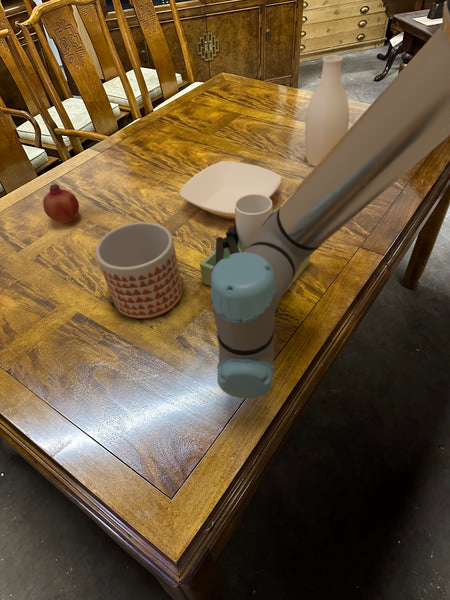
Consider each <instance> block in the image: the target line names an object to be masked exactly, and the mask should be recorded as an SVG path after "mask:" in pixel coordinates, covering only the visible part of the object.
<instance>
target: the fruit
mask: <svg viewBox="0 0 450 600" xmlns="http://www.w3.org/2000/svg"><path fill="white" fill-rule="evenodd" d="M42 203H43V204H42V207H43V211H44V213H45V214H46V216H47V217H49V218H50V219H51V221H55V222H57V223H63V224H65V223H70V222H72V221H73V220H74V219H75V218H76V217H77V215H78V214H79V210H80V204H79V200H78V198H77V197H76V195H75V194H74V193H72V192H71V191H70V190H67V189H63V188H61V187H60V186H59V185H58V184H56V183H54V184H51V185H50V186H49V192H47V193H46V194H45V196H44V197H43V200H42Z"/></svg>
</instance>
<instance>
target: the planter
mask: <svg viewBox="0 0 450 600" xmlns="http://www.w3.org/2000/svg"><path fill="white" fill-rule="evenodd" d="M95 257H96V260H97V262H98V265H99V267H100V270H101V272H102V276H103V278H104V280H105V284H106V286H107V288H108V290H109V294H110V295H111V298H112V302H113V303H114V306H115V308H116V310H118V312H120V313H121V314H122V315H124V316H126V317H129V318H132V319H137V320H138V319H139V320H145V319H153V318H157V317H159V316H162V315H164V314H166V313H167V312H169V311H170V310H172V309H174V307H175V306H176V305H178V303H179V301H180V299H181V298H182V296H183V290H184V287H183V282H182V277H181V272H180V267H179V262H178V258H177V253H176V249H175V243H174V239H173V235H172V233H171V232H170V230H169V229H167V228H166V227H165V226H163V225H162V224H159V223H155V222H151V221H137V222H130V223H125V224H123V225H120V226H117V227H115V228H113V229H112V230H110V231H108V232H107V233H105V234H104V235H103V236H102V237H101V238H100V240H99V241H98V243H97V244H96V247H95Z"/></svg>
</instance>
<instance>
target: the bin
mask: <svg viewBox="0 0 450 600" xmlns="http://www.w3.org/2000/svg"><path fill="white" fill-rule="evenodd" d="M237 247H238V249H239V252H240V246H239V240H238V245H237ZM240 253H241V252H240ZM229 255H230V253H229V251H228V248H224V259H226V258H228V257H229ZM215 264H216V248H214V250H213V251H212V252H211V253H210V254H209V255H207V256H206V257H205V258H204V259H203V260H202V261H201V262H200V263H199V268H200V274H201V281H202V283H203V284H204V285H206V286H209V287H211V274H212V269H213V267H214V265H215ZM309 265H310V256H309V257H308V258H306V259H305V260H304V261H303V263H302V264H301V265H300V267H299V269H298V271H297V272H296V274H295V276H294V278H293V279H292V283H290V285H289V286H288V288H287V290H286V292H287V291H288V290H289V289H290V288H291V287H292V285H293V284H294V283H295V281H296V280H297V279H298V278H299V277H300V276H301V274H302V273H303V272H304V271H305V269H306V268H307V267H308V266H309Z"/></svg>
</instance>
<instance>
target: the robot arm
mask: <svg viewBox="0 0 450 600" xmlns="http://www.w3.org/2000/svg"><path fill="white" fill-rule="evenodd" d="M442 8H443V9H442V20H441V21H442V23H441V25H440V27H439V28H438V29H437V30H436V31H435V32H434V34H433V35H432V36H431V37H430V38H429V39H428V40H427V42H426V43H424V44H423V46H422V47H421V48H420V49H419V50H418V51H417V53H416V54H415V55H413V57H412V58H411V59H410V60H409V61H408V63H407V64H406V65H405V66H404V67H403V68H402V69H401V71H399V73H398V74H397V75H396V76H395V77H394V78H393V80H392V81H391V82H390V83H389V84H388V85H387V87H385V88H384V89H383V91H382V92H381V93H380V94H379V95H378V96H377V98H375V100H374V101H373V102H372V103H371V104H370V105H369V106H368V108H366V110H365V111H364V112H363V113H362V114H361V115H360V116H359V118H357V120H356V121H355V122H354V123H353V124H352V125H351V127H350V128H348V130H347V132H346V133H345V135H344V136H343V137H342V138H341V139H340V140H339V141H338V142H337V144H336V145H335V146H334V147H333V148H332V149H331V150H330V151H329V153H328V154H327V155H326V156H325V157H324V158H323V159H322V160H321V161H320V163H319V164H318V165H317V166H316V167H315V166H314V168H313V169H312V170H311V171H310V172H309V174H308V175H306V177H305V178H304V179H303V180H302V181H301V183H300V184H299V185H298V186H297V187H296V188H295V189H294V190H293V192H292V193H290V195H289V196H288V197H287V198H286V199H285V200H284V202H283V203H282V204H281V206H278V207H277V208H276V209H274V210H273V213H272V214H271V215H270V216H269V217H268V218H267V220H266V221H265V222H264V223H263V225H262V228H261V229H260V231H259V232H258V233H257V235H256V236H255V238H254V239H253V241H252V242H251V244H250V245H249V247H248V248H246V250H245V251H244V252H241V253H240V252H239V249H238V247H237V245H238V235H237V229H236V222H235V220H234V222H233V226H229V227H228V228H227V232H226V233H225V237H224V238H223V237H222V236H218V237H216V239H215V240H216V241H215V249H216V264H215V265H214V267H213V269H212V274H211V286H210V288H211V289H210V290H211V293H210V298H211V299H210V300H211V305H212V308H213V314H214V322H215V327H216V333H217V335H216V336H217V343H218V352H219V353H218V354H219V355H218V357H219V358H218V363H217V364H216V365H217V366H216V368H217V384H218V387H219V388H220V389H221V390H222V391H223V393H225V394H227V395H229V396H231V397H234V398H237V399H248V400H250V399H257V398H260V397H262V396H265V395H266V394H267V393H269V391H271V389H272V386H273V383H274V372H275V365H274V363H275V362H274V359H275V358H274V357H275V355H274V354H275V353H274V351H275V349H274V348H275V331H274V330H275V314H276V310H277V308H278V306H279V305H280V303H281V300H282V299H283V297H284V296H285V294H286V293H287V291H288V290H287V288H288V286H289V285H290V283H292V279H293V278H294V276H295V274H296V272H297V271H298V269H299V267H300V265H301V264H302V263H303V261H304V260H305V259H306V258H308V257H309V258H310V256H311V255H313V253H315V252H316V251H317V250H318V249H319V248H320V247H321V246H322V245H323V244H324V243H326V242H327V241H328V240H329V239H330V238H332V237H333V236H334V235H335V234H337V232H339V231H340V230H341V229H342V228H343V227H344V226H346V225H347V224H348V223H349V222H350V221H352V220H353V219H354V218H355V217H356V216H358V214H360V213H361V212H362V211H363V210H364V209H366V208H367V207H368V206H369V205H370V204H372V202H374V201H375V200H376V199H377V198H378V197H380V196H381V195H382V194H384V193H385V192H386V191H387V189H389V188H391V186H393V184H395V183H396V182H397V181H398V180H399V179H401V178H402V177H403V176H404V175H405V174H407V173H408V172H409V171H410V170H411V169H412V168H413V167H415V166H416V165H417V164H418V163H419V162H420V161H422V160H423V159H424V158H425V157H426V156H428V155H429V154H430V153H431V152H433V150H435V149H436V148H437V147H438V146H439V145H440V144H441V143H443V142H444V141H445V140H447V139H448V138H449V137H450V0H446V1H445V3H444V4H443V7H442ZM224 248H228V251H229V253H230V255H229V257H228V258H226V259H224ZM286 290H287V291H286Z"/></svg>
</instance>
